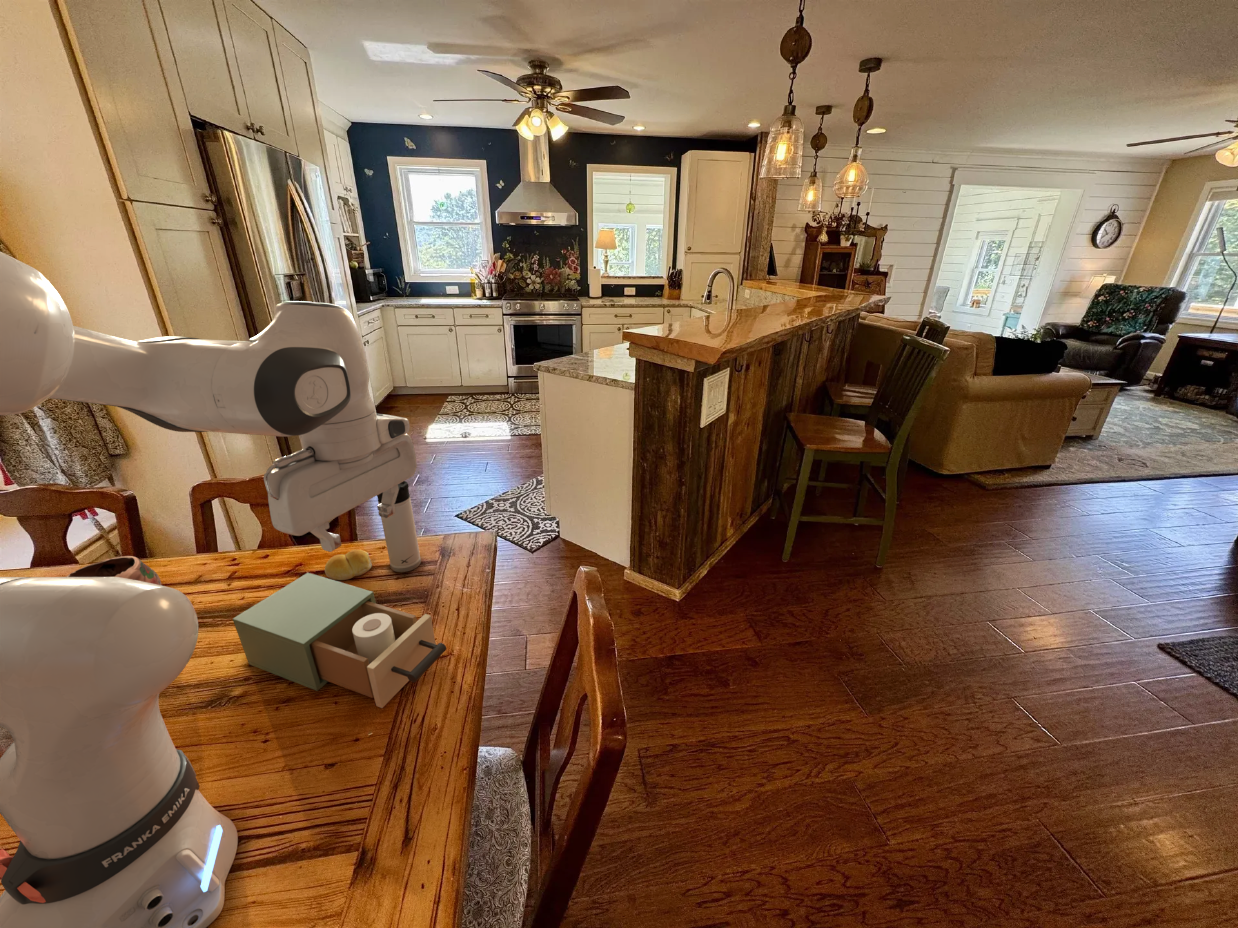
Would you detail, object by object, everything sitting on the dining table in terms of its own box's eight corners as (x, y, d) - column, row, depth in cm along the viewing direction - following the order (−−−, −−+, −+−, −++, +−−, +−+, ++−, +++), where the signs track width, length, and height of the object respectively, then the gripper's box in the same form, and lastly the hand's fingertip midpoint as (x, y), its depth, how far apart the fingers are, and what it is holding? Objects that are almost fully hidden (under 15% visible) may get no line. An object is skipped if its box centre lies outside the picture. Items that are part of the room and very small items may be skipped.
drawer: (460, 659, 83) (455, 622, 80) (407, 718, 73) (399, 678, 70) (371, 630, 89) (363, 595, 86) (311, 680, 79) (299, 642, 76)
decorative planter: (78, 623, 91) (46, 560, 86) (164, 593, 100) (139, 533, 94) (90, 680, 79) (53, 610, 74) (187, 639, 88) (160, 575, 82)
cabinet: (382, 634, 90) (373, 591, 86) (317, 691, 78) (303, 644, 74) (319, 613, 95) (307, 572, 91) (248, 664, 83) (232, 618, 79)
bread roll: (324, 567, 108) (320, 552, 107) (368, 555, 113) (365, 540, 112) (328, 587, 102) (324, 571, 101) (375, 573, 107) (371, 557, 105)
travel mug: (412, 574, 107) (397, 492, 99) (384, 570, 108) (368, 488, 100) (427, 558, 112) (415, 479, 104) (402, 555, 113) (387, 476, 106)
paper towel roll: (380, 680, 77) (371, 640, 74) (353, 670, 79) (343, 631, 76) (406, 656, 82) (399, 617, 79) (380, 647, 84) (372, 609, 81)
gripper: (281, 469, 52) (311, 578, 57) (417, 416, 70) (430, 503, 75) (240, 460, 54) (272, 566, 59) (382, 411, 72) (397, 496, 77)
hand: (361, 530), depth 67 cm, fingers open, 8 cm apart
